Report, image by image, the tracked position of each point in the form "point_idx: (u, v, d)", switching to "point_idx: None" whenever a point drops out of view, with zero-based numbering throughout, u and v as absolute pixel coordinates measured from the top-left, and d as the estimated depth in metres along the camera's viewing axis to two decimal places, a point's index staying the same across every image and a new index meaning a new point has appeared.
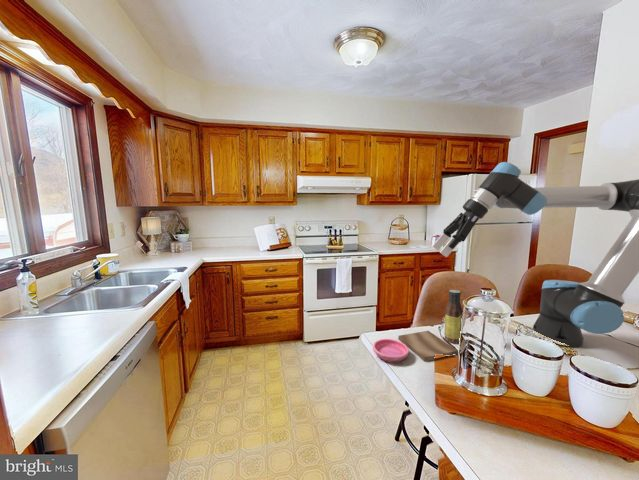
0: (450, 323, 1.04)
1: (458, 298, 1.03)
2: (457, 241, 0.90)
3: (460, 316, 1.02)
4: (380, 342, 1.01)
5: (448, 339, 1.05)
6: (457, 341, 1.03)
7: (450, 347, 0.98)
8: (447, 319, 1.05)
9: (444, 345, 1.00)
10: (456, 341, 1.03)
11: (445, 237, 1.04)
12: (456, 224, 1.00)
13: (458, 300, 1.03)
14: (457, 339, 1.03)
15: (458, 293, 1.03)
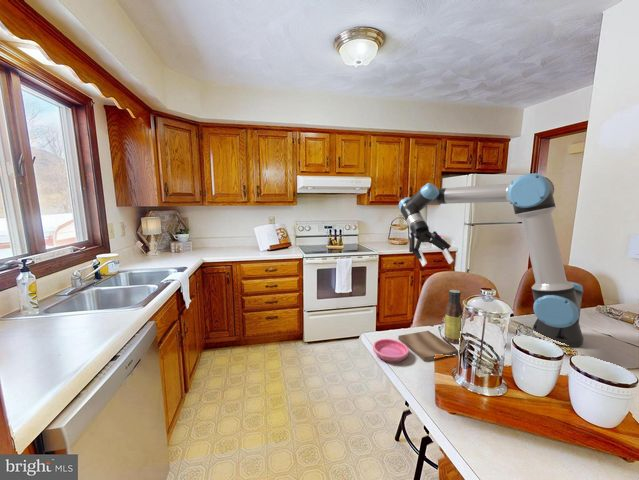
0: (450, 323, 1.04)
1: (458, 298, 1.03)
2: (415, 252, 1.16)
3: (460, 316, 1.02)
4: (380, 343, 1.01)
5: (448, 339, 1.05)
6: (457, 341, 1.03)
7: (450, 347, 0.98)
8: (447, 319, 1.05)
9: (444, 345, 1.00)
10: (456, 341, 1.03)
11: (444, 251, 1.20)
12: (431, 242, 1.23)
13: (458, 300, 1.03)
14: (457, 339, 1.03)
15: (458, 293, 1.03)
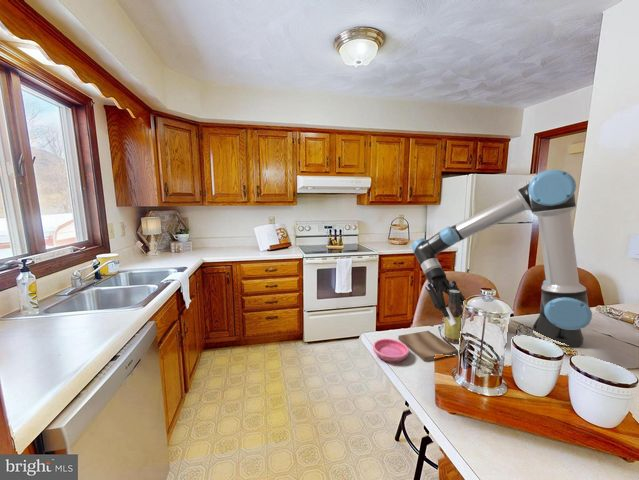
0: None
1: (458, 298, 1.03)
2: (442, 309, 1.04)
3: (460, 316, 1.02)
4: (380, 342, 1.01)
5: (448, 339, 1.05)
6: (457, 341, 1.03)
7: (450, 347, 0.98)
8: None
9: (444, 345, 1.00)
10: (456, 341, 1.03)
11: None
12: (447, 292, 1.10)
13: (458, 300, 1.03)
14: (457, 339, 1.03)
15: (458, 293, 1.03)
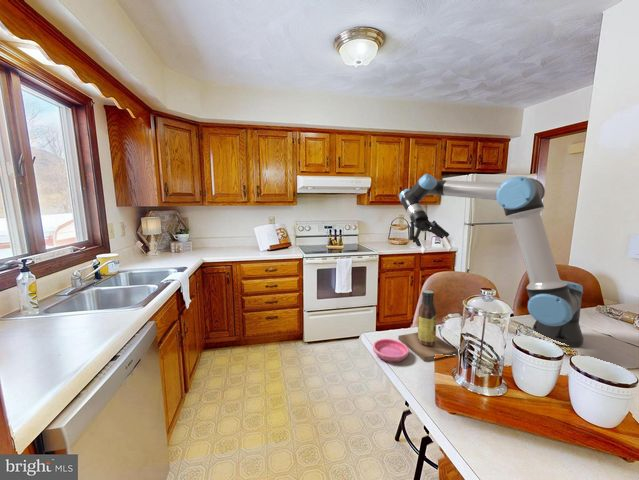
0: (422, 325, 0.99)
1: (431, 299, 0.98)
2: (415, 239, 1.21)
3: (433, 318, 0.98)
4: (380, 343, 1.01)
5: (421, 342, 1.00)
6: (430, 344, 0.99)
7: (450, 347, 0.98)
8: (420, 321, 1.00)
9: (444, 345, 1.00)
10: (429, 344, 0.99)
11: (443, 239, 1.24)
12: (431, 230, 1.27)
13: (431, 301, 0.98)
14: (430, 342, 0.99)
15: (431, 294, 0.98)
